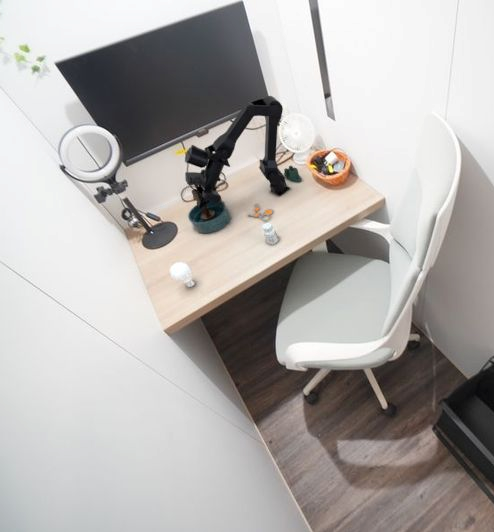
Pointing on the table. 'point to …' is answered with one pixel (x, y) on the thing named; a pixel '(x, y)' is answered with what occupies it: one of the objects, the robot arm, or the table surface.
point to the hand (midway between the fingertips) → (198, 206)
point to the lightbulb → (182, 273)
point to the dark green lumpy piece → (292, 174)
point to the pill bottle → (270, 233)
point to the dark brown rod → (204, 208)
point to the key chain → (261, 213)
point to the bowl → (213, 224)
